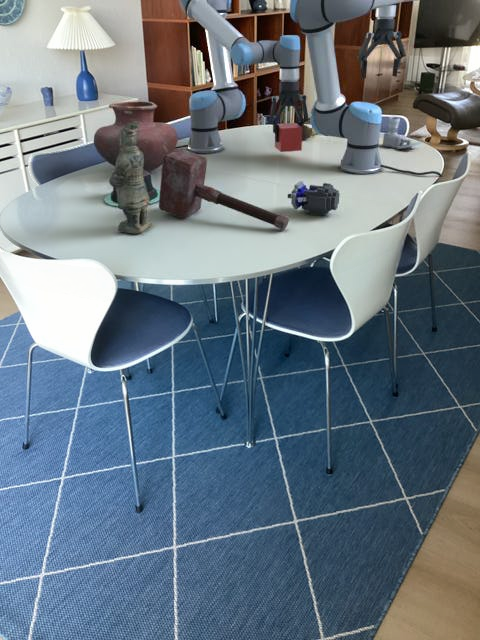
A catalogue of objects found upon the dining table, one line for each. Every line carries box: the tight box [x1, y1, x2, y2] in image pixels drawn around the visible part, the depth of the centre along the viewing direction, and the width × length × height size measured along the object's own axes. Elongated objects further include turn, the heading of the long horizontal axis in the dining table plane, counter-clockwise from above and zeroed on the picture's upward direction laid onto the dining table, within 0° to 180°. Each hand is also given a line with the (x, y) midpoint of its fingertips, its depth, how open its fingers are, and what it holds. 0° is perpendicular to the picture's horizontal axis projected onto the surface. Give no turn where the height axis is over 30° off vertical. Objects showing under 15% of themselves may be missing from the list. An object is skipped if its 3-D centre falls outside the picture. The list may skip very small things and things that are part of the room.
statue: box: [108, 121, 153, 235], centre depth 154 cm, size 11×9×30 cm
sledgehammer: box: [158, 148, 290, 231], centre depth 163 cm, size 17×10×40 cm
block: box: [274, 122, 303, 153], centre depth 224 cm, size 9×9×9 cm
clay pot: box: [93, 100, 179, 172], centre depth 208 cm, size 30×30×25 cm
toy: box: [287, 180, 341, 216], centre depth 168 cm, size 9×9×15 cm
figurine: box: [302, 124, 317, 141], centre depth 261 cm, size 13×8×25 cm
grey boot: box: [382, 116, 422, 150], centre depth 236 cm, size 9×12×15 cm
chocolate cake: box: [103, 169, 160, 207], centre depth 186 cm, size 15×19×20 cm
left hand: (288, 140), depth 225 cm, fingers closed on block, 9 cm apart
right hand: (379, 77), depth 227 cm, fingers open, 13 cm apart
